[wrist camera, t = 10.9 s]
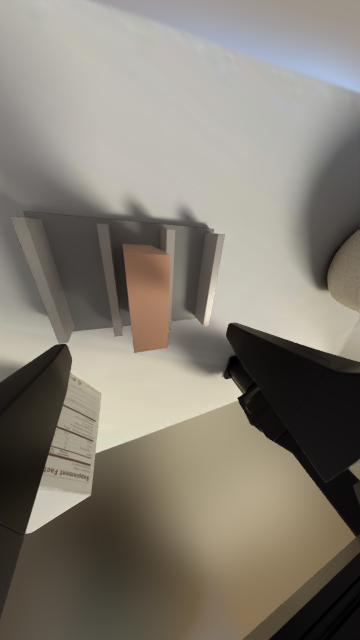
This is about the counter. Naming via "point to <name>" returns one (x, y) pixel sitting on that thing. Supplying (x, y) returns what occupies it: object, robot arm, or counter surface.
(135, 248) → the tall clay brick
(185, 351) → the counter surface
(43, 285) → the dish rack
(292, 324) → the counter surface
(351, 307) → the planter
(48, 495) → the supplement box
